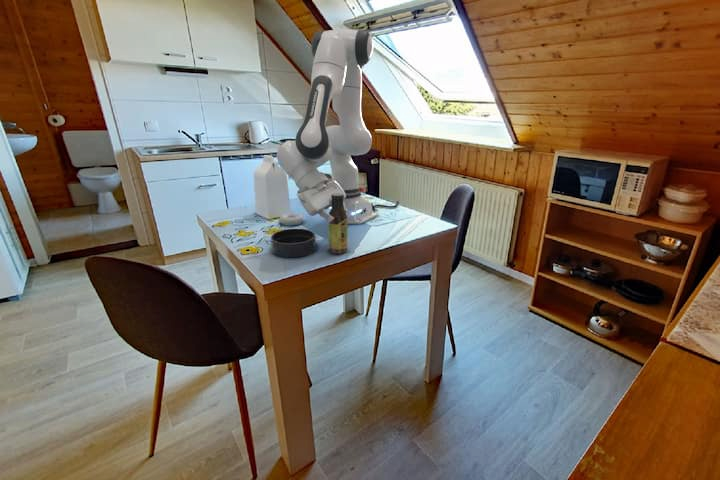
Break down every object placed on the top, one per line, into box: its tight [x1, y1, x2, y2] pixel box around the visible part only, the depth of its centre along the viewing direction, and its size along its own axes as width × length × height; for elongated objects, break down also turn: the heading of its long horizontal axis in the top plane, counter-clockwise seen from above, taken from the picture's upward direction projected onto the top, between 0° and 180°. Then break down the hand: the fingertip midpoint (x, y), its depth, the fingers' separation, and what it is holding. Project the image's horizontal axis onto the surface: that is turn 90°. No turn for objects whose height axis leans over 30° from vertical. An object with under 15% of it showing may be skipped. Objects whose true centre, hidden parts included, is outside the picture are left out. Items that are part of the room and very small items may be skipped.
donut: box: [278, 212, 304, 227], centre depth 145 cm, size 10×3×10 cm
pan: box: [270, 228, 317, 258], centre depth 119 cm, size 15×15×5 cm
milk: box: [253, 154, 292, 220], centre depth 153 cm, size 12×12×26 cm
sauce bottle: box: [328, 193, 348, 255], centre depth 115 cm, size 6×6×20 cm
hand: (339, 216), depth 114 cm, fingers open, 8 cm apart
